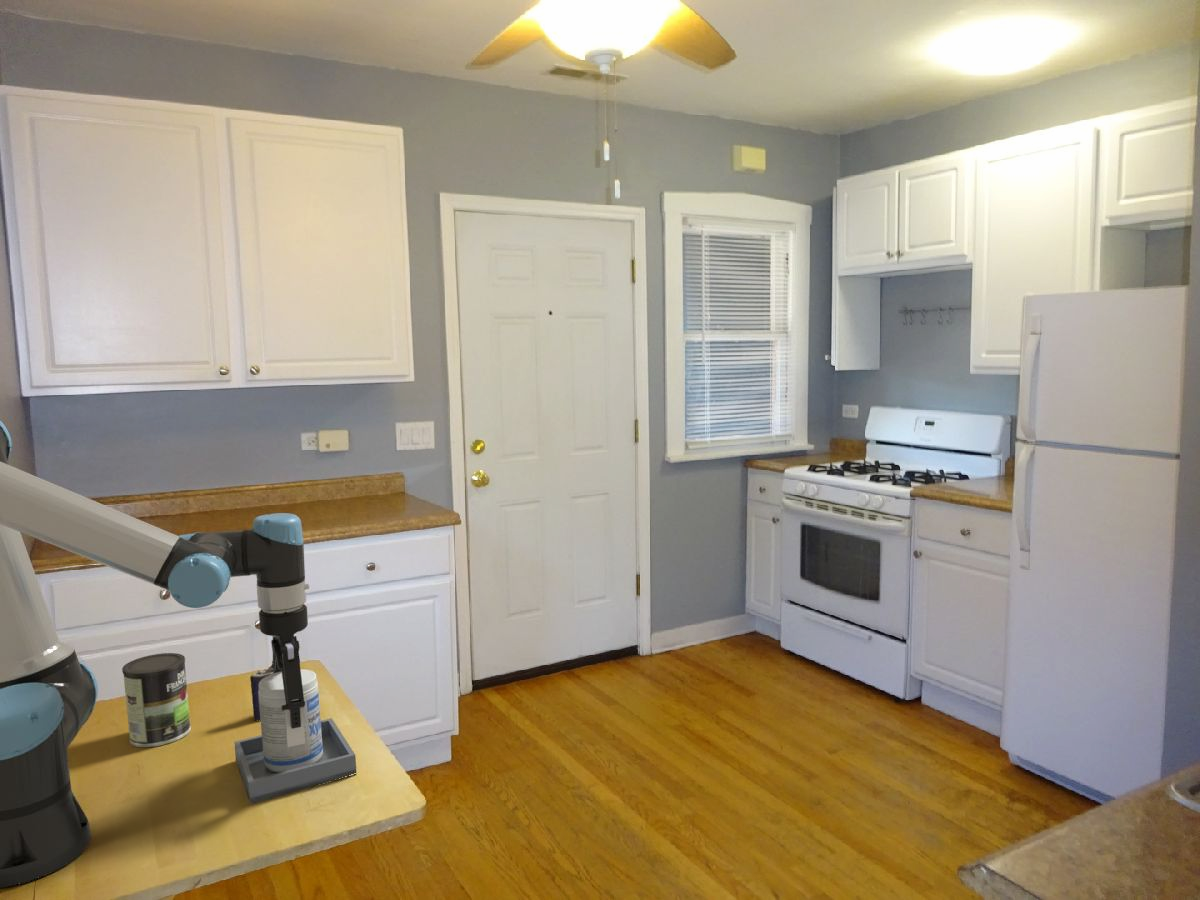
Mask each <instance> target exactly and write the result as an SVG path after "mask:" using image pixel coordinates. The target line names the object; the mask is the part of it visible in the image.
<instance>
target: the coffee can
mask: <svg viewBox="0 0 1200 900" xmlns="http://www.w3.org/2000/svg"><path fill="white" fill-rule="evenodd" d="M121 671H122V675H123V682H124V692H125V693H124V694H125V702H126V713H127V722H128V731H129V733H128V734H129V743H130V745H132V746H134V747H137V748H138V747H139V748H151V747H152V748H153V747H161V746H164V745H167V744H172V743H174V742H178V741H179V740H181V739H183V738H184V737H185V736H187V735H188V734H189V733H190V732H191V730H192V727H191V719H190V708H189V697H188V687H187V686H188V685H187V674H186V657H185V655H184V654H181V653H175V652H168V653H167V652H166V653H165V652H164V653H163V652H162V653H156V654H149V655H146V656H141V657H138V658H136V659H134V660H131V661H129V662H127V663H126V664H124V665H123V666H122V669H121Z"/></svg>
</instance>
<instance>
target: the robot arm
mask: <svg viewBox="0 0 1200 900" xmlns="http://www.w3.org/2000/svg"><path fill="white" fill-rule="evenodd" d="M12 447H13V446H12V438H11V434H10V432H9V431H8V429H7V427H6V425H5V424H4V423H3V422H2V420H0V889H1V888H7V887H8V888H9V887H13V885H14V886H17V885H16V884H18V885H20V884H19V883H22V884H25V883H24V882H26V883H28V882H31V880H32V881H35V880H37V879H36V878H38V877H40V878H42V877H41V876H43V877H45V876H47V875H46V874H48V875H50V874H52V873H54V872H56V871H58V870H60V869H62V868H63V867H65V866H67V865H69V864H70V863H71V862H73V861H74V860H75V859H77V858H78V857H80V856H81V854H82V853H83V852H84V851H86V849H87V848H88V847H89V845H90V842H91V839H92V833H91V826H90V825H91V824H90V821H89V819H88V816H86V813H85V812H84V810H83V809H82V806H81V805H80V803H79V801H78V799H77V797H76V796H75V794H74V793H73V791H72V783H71V773H70V766H69V757H68V756H69V755H68V748H69V747H70V746H71V744H72V743H73V741H74V740H75V739H76V737H77V735H78V734H79V732H80V730H81V729H82V728H83V726H85V724H86V723H87V721H88V720H89V718H90V717H91V715H92V713H93V712H94V709H95V706H96V703H97V702H96V701H97V698H98V693H99V691H98V690H99V688H98V682H97V679H96V676H95V674H94V673H93V671H92V669H91V668H90V667H89V666H88V665H86V663H84V662H82V661H81V662H80V661H79V658H78V655H77V653H76V649H75V647H74V646H72V645H71V644H68V643H65V642H62V641H61V640H59V637H58V634H57V630H56V629H55V625H54V623H53V619H52V617H51V614H50V612H49V609H48V605H47V603H46V599H45V598H44V595H43V592H42V589H41V586H40V584H39V581H38V578H37V575H36V572H35V569H34V568H33V567H34V566H33V565H32V561H31V559H30V556H29V553H28V550H27V548H26V545H25V542H24V539H23V536H22V533H23V534H25V535H27V536H29V537H32V538H35V539H37V540H40V541H43V542H44V543H48V544H51V545H53V546H55V547H58V548H60V549H63V550H65V551H68V552H70V553H73V554H75V555H77V556H79V557H80V556H81V557H84V558H85V559H88V560H91V561H93V562H95V563H98V564H101V565H104V566H106V567H108V568H111V569H114V570H116V571H119V572H122V573H124V574H126V575H129V576H132V577H134V578H136V579H139V580H142V581H144V582H145V583H149V584H152V585H155V586H157V587H159V588H161V589H164V590H166V591H168V592H169V594H170V595H171V597H172V598H173V599H174V600H175V601H176V602H177V603H178V604H179V605H182V607H183V606H184V607H186V608H191V609H199V608H204V607H207V606H210V605H212V604H214V603H215V602H217V600H219V599H220V598H221V595H223V593H225V592H226V591H227V589H228V587H229V585H230V581H231V578H236V577H249V576H252V575H253V576H254V575H255V576H256V594H257V607H258V609H260V610H259V612H258V619H259V620H258V621H259V631H260V633H262V634H263V635H265V636H271V637H272V639H271V640H270V642H271V650H272V661H273V665H272V664H271V665H272V668H273V670H274V673H277V672H282V679H283V686H284V694H285V701H286V705H283V706H282V708H281V709H282V711H283V710H285V720H286V736H287V747H291V746H296V745H300V744H305V731H304V714H303V707H304V706H305V701H304V695H303V687H302V678H301V670H300V669H301V664H300V663H301V660H300V659H301V658H300V641H299V640H297V638H298V637H297V636H296V635H295V634H297V633H299V632H302V631H304V630H305V629H306V628H307V627H308V626H309V625H308V624H309V622H308V621H309V619H308V606H307V605H305V604H306V602H307V593H306V591H305V590H308V589H310V584H309V583H306V572H305V571H306V570H305V569H306V568H305V567H306V566H305V550H304V549H305V546H304V535H303V527H302V521H301V518H300V517H299V516H297V515H296V514H293V513H286V512H278V513H275V512H274V513H270V514H262V515H258V516H256V517H255V518H254V519H253V520H252V526H251V528H248V529H242V530H241V529H240V530H239V529H238V530H227V531H225V530H224V531H211V532H210V531H209V532H200V531H198V532H194V533H187V534H179V535H177V534H174V533H172V532H169V531H167V530H165V529H162V528H161V527H158V526H155V525H153V524H151V523H149V522H145V521H143V520H141V519H139V518H136V517H134V516H131V515H129V514H127V513H124V512H121V511H119V510H117V509H115V508H112V507H110V506H108V505H105V504H103V503H100V502H98V501H97V500H93V499H91V498H88V497H87V496H86V497H85V496H83V495H81V494H79V493H77V492H74V491H71V490H69V489H68V488H65V487H62V486H60V485H57V484H55V483H53V482H50V481H49V480H45V479H43V478H40V477H38V476H36V475H33V474H31V473H29V472H26V471H24V470H22V469H19V468H17V467H15V466H12V465H10V464H9V459H10V456H11V453H12ZM296 699H298V700H296ZM292 700H294V701H292ZM49 873H50V874H49ZM34 879H35V880H34ZM38 879H39V878H38Z"/></svg>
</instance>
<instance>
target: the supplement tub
mask: <svg viewBox="0 0 1200 900" xmlns="http://www.w3.org/2000/svg"><path fill="white" fill-rule="evenodd" d="M300 670H301V678H302V687H303V695H304V701H305V706H304V707H303V714H304V731H305V744H300V745H296V746H291V747H287V736H286V720H285V710H283V711H282V709H281V708H282V706H283V705H286V701H285V694H284V686H283V679H282V672H277V673H274V674H271V675H269V676H266V677H265V678H263V679H262V680H261V681H260V682H259V691H258V694H259V695H258V696H259V708H260V720H261V721H260V731H261V735H262V742H263V755H264V764H265V766H266V767H267V768H268V769H269V770H271V771H273V772H277V773H280V772H284V771H288V770H292V769H295V768H299V767H303V766H307V765H310V764H314V763H316V762H318V761H319V760H320V758H321V757H322V754H323V745H322V733H321V721H322V720H321V707H320V695H319V693H320V692H319V684H318V683H319V682H318V679H317V674H316V673H315V672H314V671H313V670H310V669H301V668H300ZM296 700H298V699H296ZM292 701H294V700H292Z"/></svg>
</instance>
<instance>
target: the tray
mask: <svg viewBox="0 0 1200 900" xmlns="http://www.w3.org/2000/svg"><path fill="white" fill-rule="evenodd" d="M321 733H322V745H323V754H322V757H321V758H320V760H319V761H318V762H316V763H314V764H310V765H307V766H303V767H299V768H295V769H292V770H288V771H284V772H280V773H277V772H273V771H271V770H269V769H268V768H267V767H266V766H265V764H264V755H263V742H262V734H260V735H256V736H253V737H247V738H244V739H240V740H235V741H234V753H235V762H236V766H237V768H238V771H239V774H240V778H241V780H242V783H243V786H244V788H245V789H244V790H245V791H246V795H247V798H248V800H249V801H248V802H249V804H250V805H252V804H256V803H260V802H264V801H267V800H270V799H275V798H278V797H281V796H285V795H289V794H292V793H295V792H299V791H303V790H307V789H309V788H313V787H318V786H320V785H319V784H321V785H324V784H323V783H325V784H327V783H326V782H328V783H330V782H329V781H332V782H334V781H333V780H335V779H339V778H342V777H345V776H349V775H351V774H354V773H357V761H356V759H357V758H356V757H357V756H356V753H355V751H354V750H353V749H352V747H351V745H350V744H349V743H348V741H347V740H346V738H345V737H344V734H343V733H342V732H341V730H340V729H339V727H338V726H337V724H336V722H335V721H334V719H333V718H332V717H330V718H327V719H323V720H321ZM339 780H340V779H339ZM335 781H336V780H335ZM317 785H318V786H317Z"/></svg>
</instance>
